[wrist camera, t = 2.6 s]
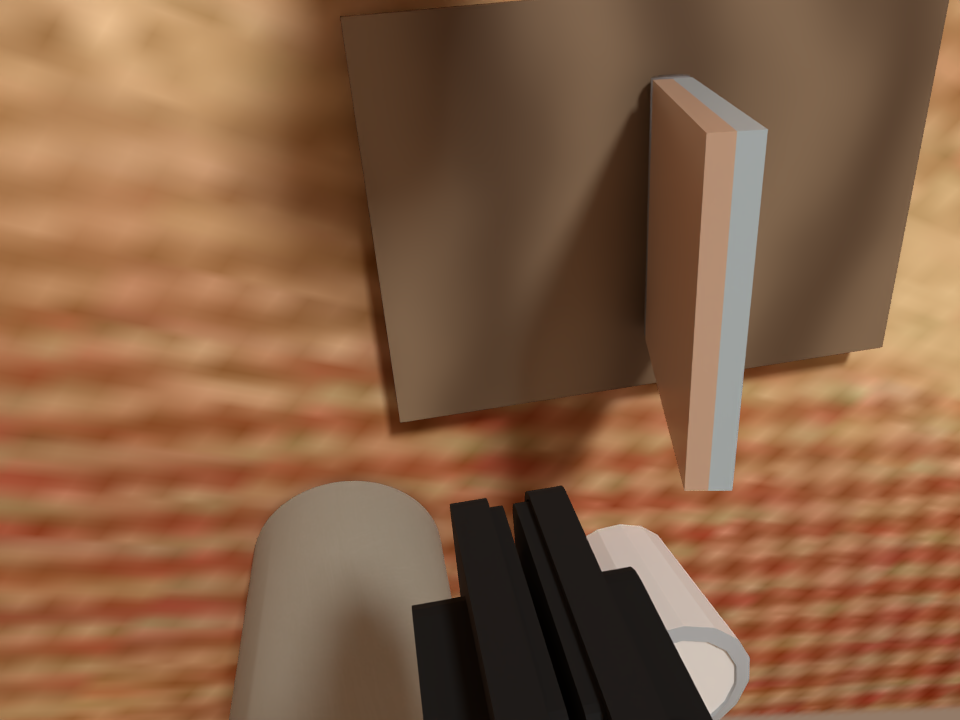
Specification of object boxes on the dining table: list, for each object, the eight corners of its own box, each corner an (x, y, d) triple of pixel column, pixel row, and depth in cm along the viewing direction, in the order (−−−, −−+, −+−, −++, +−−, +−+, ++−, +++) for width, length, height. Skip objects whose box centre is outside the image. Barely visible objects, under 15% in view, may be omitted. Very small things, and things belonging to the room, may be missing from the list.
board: (397, 403, 29) (400, 422, 28) (340, 16, 23) (340, 17, 21) (859, 332, 32) (882, 347, 30) (923, -36, 25) (955, -38, 24)
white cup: (662, 492, 34) (736, 603, 27) (692, 591, 37) (764, 711, 31) (524, 548, 34) (566, 671, 27) (566, 643, 37) (612, 772, 31)
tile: (684, 490, 19) (732, 490, 19) (706, 133, 15) (768, 129, 15) (642, 327, 28) (674, 326, 28) (648, 75, 24) (686, 72, 24)
